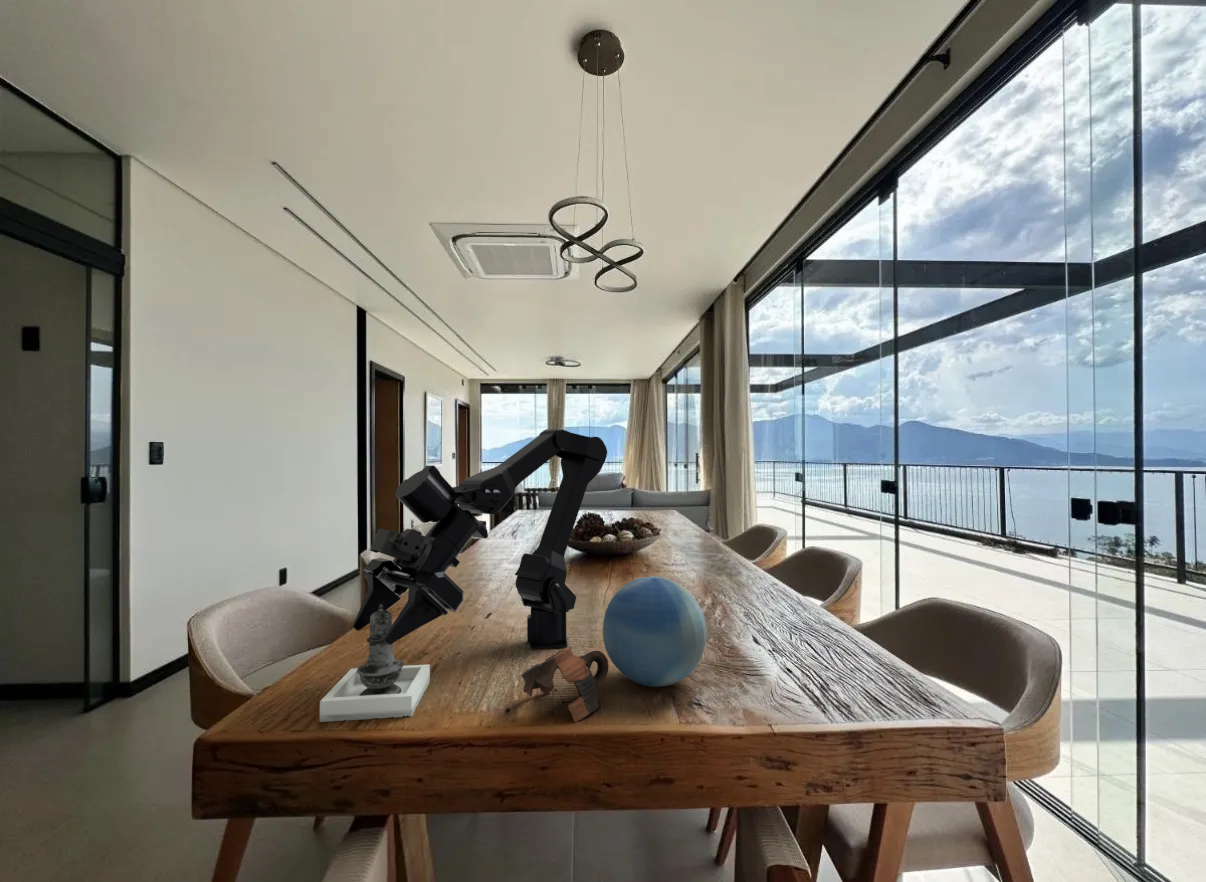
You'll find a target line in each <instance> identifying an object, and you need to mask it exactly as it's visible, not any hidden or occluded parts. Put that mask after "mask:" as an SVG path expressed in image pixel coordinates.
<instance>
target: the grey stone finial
mask: <svg viewBox="0 0 1206 882" xmlns="http://www.w3.org/2000/svg"><path fill="white" fill-rule="evenodd" d="M383 607H384V606H383V605H382V604H380V606H379V608H380V609H379V610H378V611H376V612H374V613H373V614H372V615H371V617H370V623H369V637H367V638H366V642H367V643H368V656H367V660H366V662H365V663H362V664H361V665H360V666H359V667H357V668H358V669H357V673H358V674H360V680H361V682H362V684H363V685H364V686H366V687H367V689H365V690H364V691H363V692H361V693H360V695H359V696H366V695H384V694H400V693H401V688H400V687H399V686H397V685H395V684H394V683H395V682H396V681H397V680H398V678H399V676H400V673H401V668H402V667H403V666H405V663H404V661H402V660H400V659H397V658H395V656H394V652H393V647H394V645H393V644H394V643H393V644H391V645H389V644H387V643H386V642H385V641H384V638H385V636H386V635H387V633H388V631H389V629H390V628H391V626H392V625H393V615H392V614H393V613H391V612H390V611H389V610H385V609H383Z"/></svg>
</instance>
